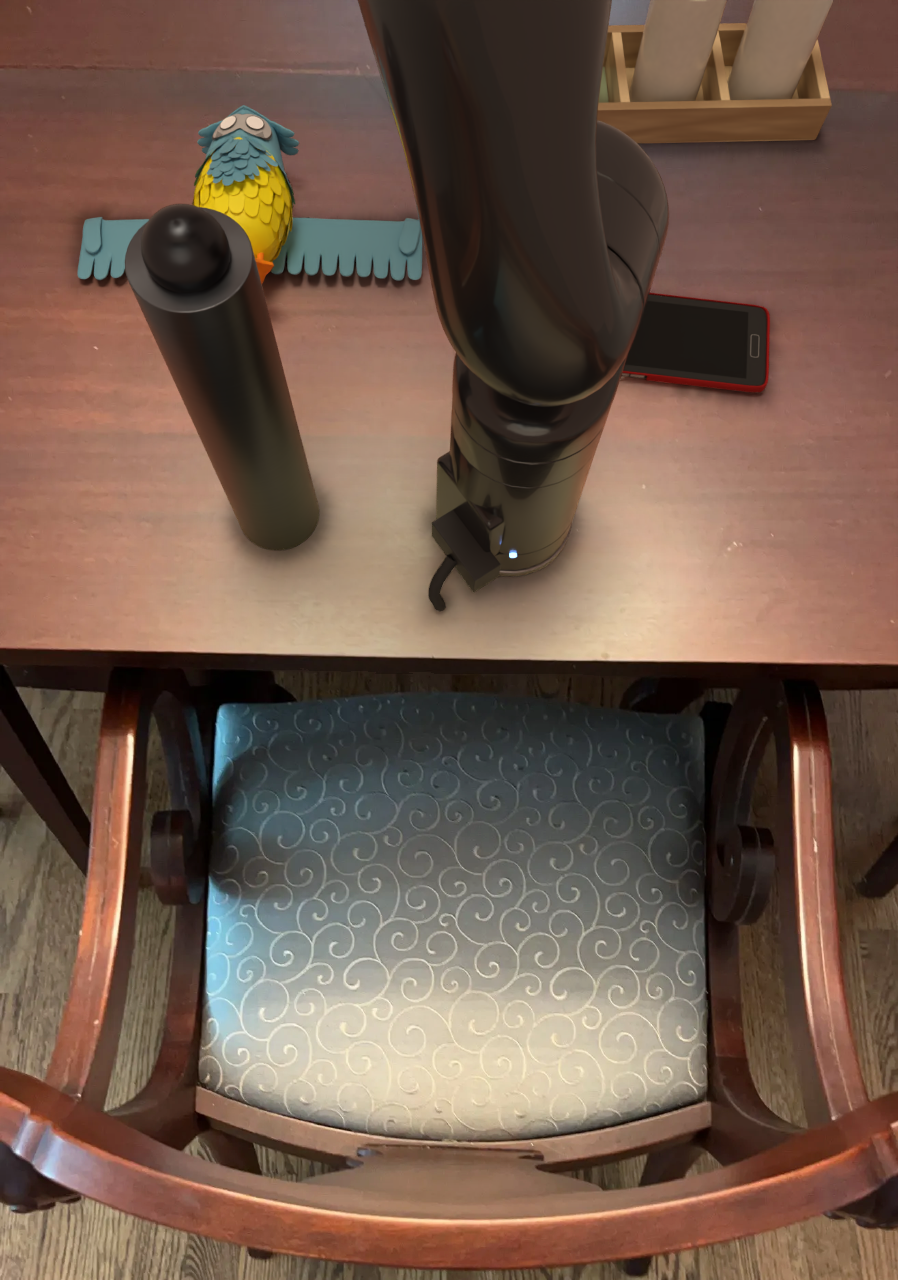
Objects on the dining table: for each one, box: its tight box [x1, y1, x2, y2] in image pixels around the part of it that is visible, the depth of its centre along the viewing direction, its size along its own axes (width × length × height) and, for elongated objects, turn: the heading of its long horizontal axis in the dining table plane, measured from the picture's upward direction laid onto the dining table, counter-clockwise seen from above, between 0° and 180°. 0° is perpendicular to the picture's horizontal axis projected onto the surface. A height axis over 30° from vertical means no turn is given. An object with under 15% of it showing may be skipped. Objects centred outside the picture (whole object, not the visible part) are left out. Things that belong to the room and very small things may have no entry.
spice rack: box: [597, 22, 833, 144], centre depth 82 cm, size 9×26×4 cm, turn 93°
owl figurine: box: [76, 104, 423, 285], centre depth 75 cm, size 28×9×15 cm
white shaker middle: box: [629, 0, 728, 102], centre depth 77 cm, size 6×6×13 cm
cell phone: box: [621, 292, 771, 393], centre depth 76 cm, size 8×15×1 cm, turn 83°
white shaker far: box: [727, 0, 835, 100], centre depth 77 cm, size 6×6×13 cm
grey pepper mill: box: [124, 203, 320, 551], centre depth 57 cm, size 6×6×30 cm
